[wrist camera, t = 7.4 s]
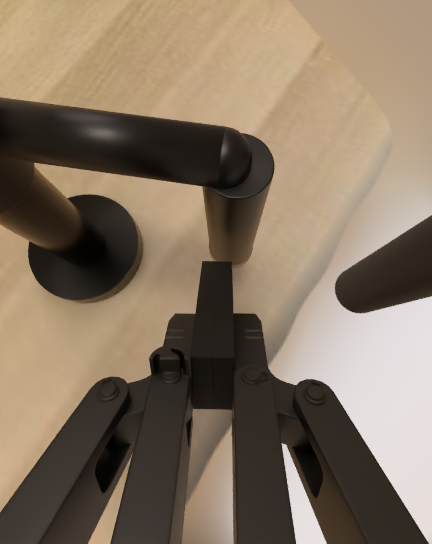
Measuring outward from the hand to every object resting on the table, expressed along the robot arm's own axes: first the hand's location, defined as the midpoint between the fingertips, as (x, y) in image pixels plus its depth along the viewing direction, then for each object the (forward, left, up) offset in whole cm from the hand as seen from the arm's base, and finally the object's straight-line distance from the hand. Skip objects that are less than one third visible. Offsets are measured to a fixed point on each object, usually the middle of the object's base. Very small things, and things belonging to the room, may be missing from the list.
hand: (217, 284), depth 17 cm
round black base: (+12, 0, -10) cm, 16 cm away
